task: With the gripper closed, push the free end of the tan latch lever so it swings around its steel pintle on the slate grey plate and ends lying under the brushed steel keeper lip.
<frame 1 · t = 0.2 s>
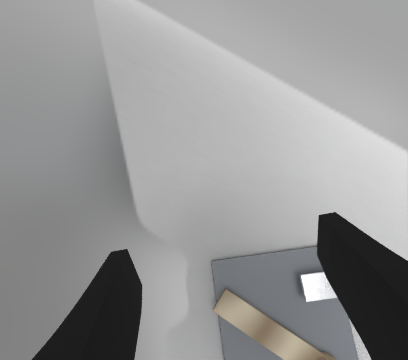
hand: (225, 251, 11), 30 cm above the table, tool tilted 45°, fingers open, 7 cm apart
tan latch lever: (278, 340, 35), point 3 cm above the table, hinge at 50.0°
keeper: (310, 283, 39), resting on base plate
base plate: (281, 316, 38), on the table
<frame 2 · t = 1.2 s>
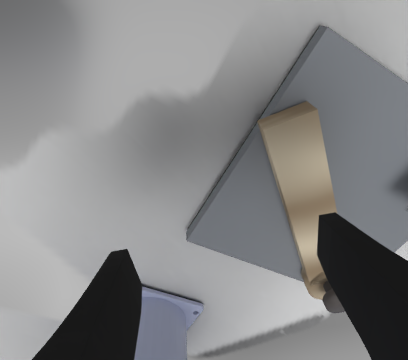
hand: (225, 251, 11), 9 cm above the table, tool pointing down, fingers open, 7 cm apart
tan latch lever: (317, 228, 20), point 3 cm above the table, hinge at 50.0°
base plate: (332, 191, 22), on the table
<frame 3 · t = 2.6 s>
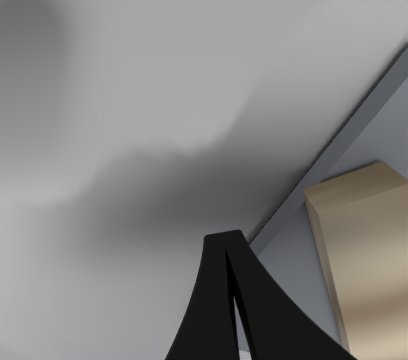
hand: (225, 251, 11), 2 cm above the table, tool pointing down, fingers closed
tan latch lever: (381, 333, 14), point 3 cm above the table, hinge at 50.0°
base plate: (394, 268, 16), on the table
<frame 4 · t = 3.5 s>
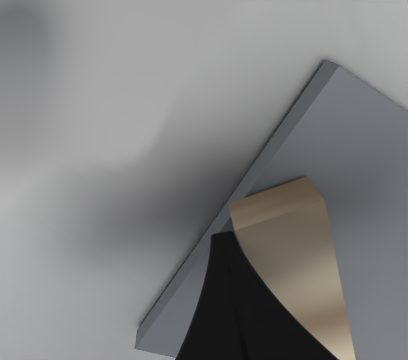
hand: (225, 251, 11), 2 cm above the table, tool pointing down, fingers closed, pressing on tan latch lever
tan latch lever: (319, 347, 14), point 3 cm above the table, hinge at 49.5°, touching gripper
base plate: (340, 280, 16), on the table
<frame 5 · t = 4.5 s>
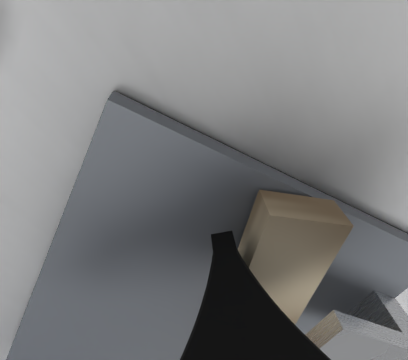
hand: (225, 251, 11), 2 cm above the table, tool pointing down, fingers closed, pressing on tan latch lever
tan latch lever: (244, 359, 14), point 3 cm above the table, hinge at 16.7°, touching gripper
keeper: (315, 281, 15), resting on base plate
base plate: (207, 299, 16), on the table
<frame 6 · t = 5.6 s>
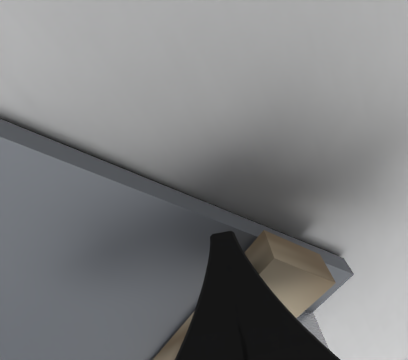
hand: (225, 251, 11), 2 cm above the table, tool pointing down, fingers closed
keeper: (235, 295, 15), resting on base plate
base plate: (128, 313, 16), on the table
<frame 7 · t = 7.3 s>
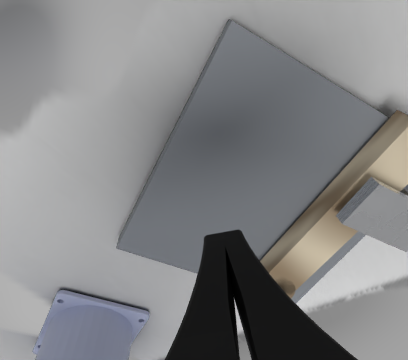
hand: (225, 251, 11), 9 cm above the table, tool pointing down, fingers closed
tan latch lever: (330, 236, 19), point 3 cm above the table, hinge at -2.2°
keeper: (351, 180, 21), resting on base plate
base plate: (269, 195, 21), on the table
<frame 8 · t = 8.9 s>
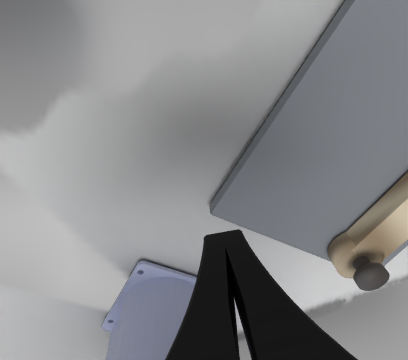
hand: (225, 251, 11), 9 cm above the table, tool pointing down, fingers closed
base plate: (364, 161, 21), on the table
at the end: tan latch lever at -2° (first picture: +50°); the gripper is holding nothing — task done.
